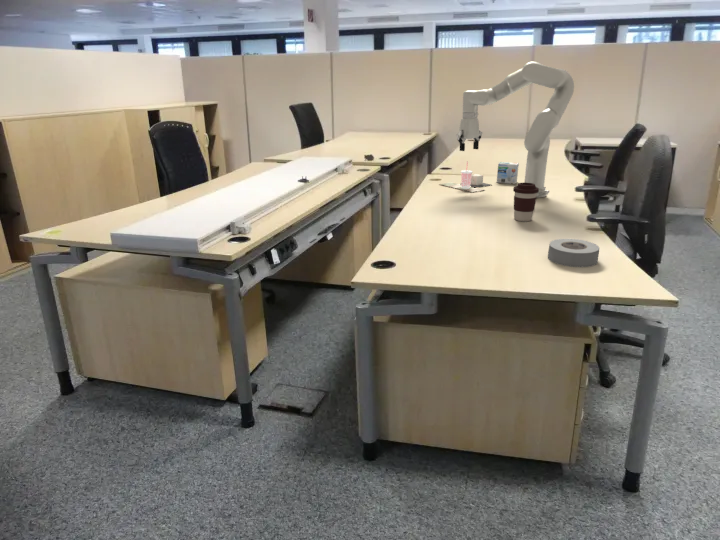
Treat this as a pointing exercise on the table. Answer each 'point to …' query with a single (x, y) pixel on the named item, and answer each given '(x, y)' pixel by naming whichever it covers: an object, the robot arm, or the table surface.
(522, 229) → the table surface
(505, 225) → the table surface
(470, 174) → the beverage cup
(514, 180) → the light bulb box
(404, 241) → the table surface
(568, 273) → the table surface
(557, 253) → the tape roll
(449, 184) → the track
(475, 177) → the die
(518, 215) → the coffee cup
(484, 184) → the mat
